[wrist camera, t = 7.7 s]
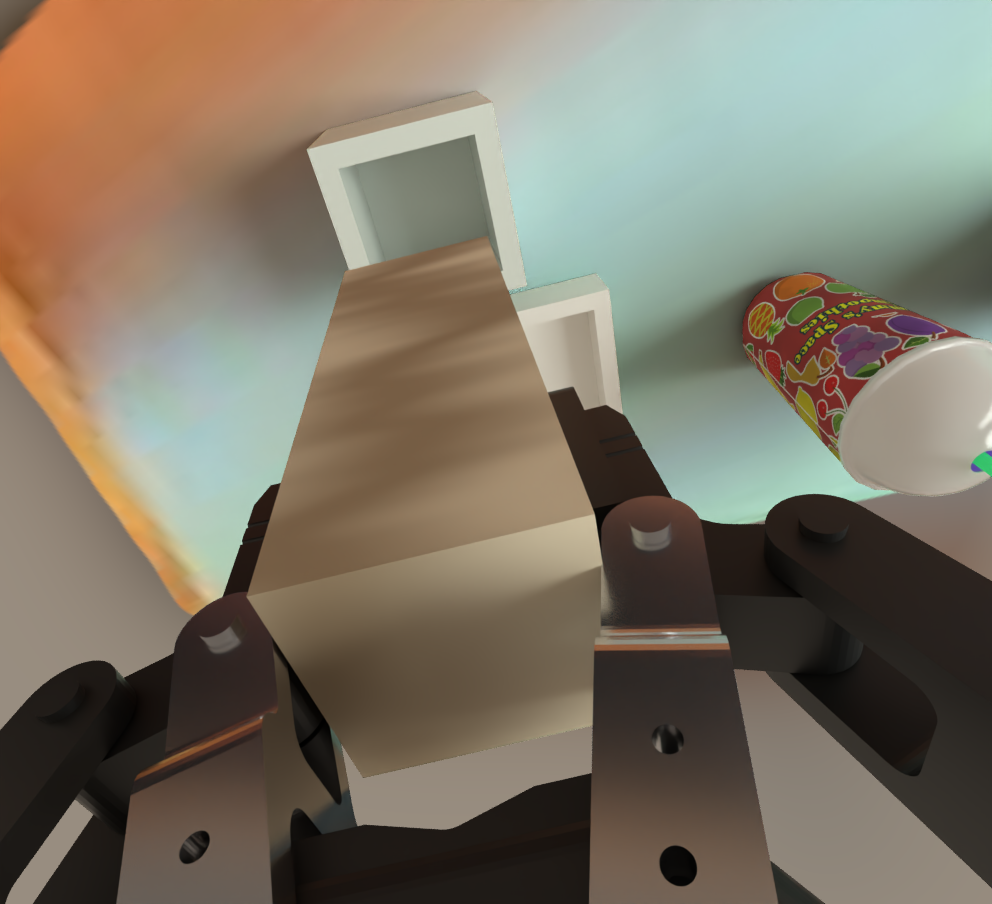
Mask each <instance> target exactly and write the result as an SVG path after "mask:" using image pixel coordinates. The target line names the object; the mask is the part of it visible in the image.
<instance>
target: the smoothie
mask: <svg viewBox="0 0 992 904" xmlns="http://www.w3.org/2000/svg"><path fill="white" fill-rule="evenodd" d="M742 334H743V347H744V350H745V352H746V355H747V358H748V359H749V360H750V361H751V362H752V363H753V364H754V365H755V366H756V368H757V369H758V370H759V371H760V372H761V373H762V374H763V375H764V377H765V378H766V379H767V380H768V381H769V382H770V383H771V384H772V386H773V387H774V388H775V389H776V390H777V391H778V392H779V393H780V395H781V396H782V397H783V398H784V399H785V400H786V401H787V402H788V404H789V405H790V406H791V407H792V408H793V409H794V410H795V411H796V413H797V414H798V415H799V416H800V417H801V418H802V419H803V420H804V422H805V423H806V424H807V425H808V426H809V427H810V428H811V429H812V431H813V432H814V433H815V434H816V435H817V436H818V437H819V438H820V440H821V441H822V442H823V443H824V444H825V445H826V446H827V447H828V449H829V450H830V451H831V452H832V453H833V454H834V455H835V456H836V458H837V459H838V460H839V461H840V462H841V464H842V465H843V467H844V468H845V470H846V471H847V472H848V473H849V474H850V475H851V476H852V477H853V478H854V480H855V481H856V482H858V483H860V484H863V485H865V486H867V487H870V488H872V489H875V490H890V491H893V492H897V493H901V494H904V495H916V496H941V495H948V494H952V493H958V492H962V491H965V490H967V489H970V488H972V487H974V486H976V485H978V484H981V483H983V482H985V481H986V480H988V479H989V478H991V477H992V343H990V342H989V341H987V340H984V339H980V338H973V337H971V336H969V335H967V334H965V333H962V332H960V331H958V330H955V329H953V328H950V327H948V326H946V325H943V324H941V323H938V322H936V321H934V320H931V319H929V318H926V317H924V316H922V315H919V314H917V313H914V312H912V311H910V310H907V309H905V308H903V307H900V306H898V305H895V304H893V303H891V302H888V301H886V300H883V299H881V298H879V297H876V296H874V295H871V294H869V293H867V292H864V291H862V290H860V289H857V288H855V287H852V286H850V285H848V284H845V283H843V282H840V281H838V280H836V279H833V278H831V277H828V276H826V275H824V274H822V273H810V272H804V273H801V274H797V275H791V276H788V277H784V278H780V279H778V280H776V281H774V282H772V283H771V284H769V285H767V286H766V287H765V288H764V289H762V290H761V291H760V292H759V293H758V294H757V295H756V296H755V297H754V299H753V300H752V302H751V303H750V305H749V306H748V308H747V310H746V313H745V316H744V319H743V329H742Z"/></svg>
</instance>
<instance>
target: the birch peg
mask: <svg viewBox="0 0 992 904" xmlns="http://www.w3.org/2000/svg"><path fill="white" fill-rule="evenodd" d="M601 565H603V563H602V557H601V551H600V544H599V538H598V532H597V525H596V519H595V513H594V511H593V508H592V506H591V503H590V501H589V498H588V495H587V493H586V490H585V488H584V485H583V482H582V480H581V477H580V475H579V472H578V470H577V467H576V464H575V462H574V459H573V457H572V454H571V451H570V449H569V446H568V444H567V441H566V439H565V436H564V433H563V431H562V428H561V426H560V423H559V420H558V418H557V415H556V413H555V410H554V408H553V405H552V402H551V400H550V397H549V395H548V392H547V389H546V387H545V384H544V382H543V379H542V377H541V374H540V371H539V369H538V366H537V364H536V361H535V358H534V356H533V353H532V351H531V348H530V346H529V343H528V340H527V338H526V335H525V333H524V330H523V327H522V325H521V322H520V320H519V317H518V315H517V312H516V309H515V307H514V304H513V302H512V299H511V296H510V294H509V291H508V289H507V286H506V284H505V281H504V278H503V276H502V273H501V271H500V268H499V265H498V263H497V260H496V258H495V255H494V253H493V250H492V247H491V245H490V242H489V240H488V237H487V236H484V237H480V238H476V239H472V240H468V241H464V242H460V243H456V244H452V245H448V246H444V247H440V248H436V249H432V250H428V251H424V252H420V253H416V254H412V255H408V256H404V257H400V258H396V259H392V260H388V261H384V262H380V263H376V264H372V265H368V266H364V267H360V268H356V269H352V270H348V271H345V273H344V276H343V280H342V283H341V286H340V289H339V293H338V296H337V299H336V303H335V306H334V309H333V313H332V316H331V319H330V323H329V326H328V329H327V332H326V336H325V339H324V342H323V346H322V349H321V352H320V356H319V359H318V362H317V365H316V369H315V372H314V375H313V379H312V382H311V385H310V389H309V392H308V395H307V399H306V402H305V405H304V408H303V412H302V415H301V418H300V422H299V425H298V428H297V432H296V435H295V438H294V441H293V445H292V448H291V451H290V455H289V458H288V461H287V465H286V468H285V471H284V475H283V478H282V481H281V484H280V488H279V491H278V494H277V498H276V501H275V504H274V508H273V511H272V514H271V517H270V521H269V524H268V527H267V531H266V534H265V537H264V541H263V544H262V547H261V550H260V554H259V557H258V560H257V564H256V567H255V570H254V574H253V577H252V580H251V584H250V587H249V590H248V593H247V598H248V600H249V601H250V603H251V604H252V606H253V608H254V609H255V611H256V612H257V614H258V615H259V617H260V618H261V620H262V622H263V623H264V625H265V626H266V628H267V629H268V631H269V632H270V634H271V636H272V637H273V639H274V640H275V642H276V643H277V645H278V646H279V648H280V649H281V651H282V653H283V654H284V656H285V657H286V659H287V660H288V662H289V663H290V665H291V667H292V668H293V670H294V671H295V673H296V674H297V676H298V677H299V679H300V681H301V682H302V684H303V685H304V687H305V688H306V690H307V691H308V693H309V694H310V696H311V698H312V699H313V701H314V702H315V704H316V705H317V707H318V708H319V710H320V712H321V713H322V715H323V716H324V718H325V719H326V721H327V722H328V724H329V725H330V727H331V729H332V730H333V732H334V733H335V735H336V736H337V738H338V739H339V741H340V743H341V744H342V746H343V747H344V749H345V750H346V752H347V753H348V755H349V757H350V758H351V760H352V761H353V763H354V764H355V766H356V767H357V769H358V770H359V772H360V774H361V775H362V777H363V778H366V777H370V776H374V775H379V774H383V773H388V772H392V771H396V770H401V769H405V768H409V767H414V766H418V765H423V764H427V763H431V762H435V761H440V760H444V759H449V758H453V757H457V756H462V755H466V754H471V753H475V752H479V751H483V750H488V749H492V748H497V747H501V746H505V745H510V744H514V743H519V742H523V741H527V740H532V739H536V738H540V737H544V736H549V735H553V734H558V733H562V732H567V731H571V730H575V729H580V728H583V727H589V726H593V676H594V645H595V638H596V636H600V630H601Z"/></svg>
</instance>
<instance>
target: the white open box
mask: <svg viewBox="0 0 992 904" xmlns="http://www.w3.org/2000/svg"><path fill="white" fill-rule="evenodd" d="M307 152H308V155H309V158H310V160H311V163H312V166H313V169H314V172H315V175H316V177H317V180H318V183H319V186H320V189H321V192H322V195H323V197H324V200H325V203H326V206H327V209H328V212H329V214H330V217H331V220H332V223H333V226H334V229H335V231H336V234H337V237H338V240H339V243H340V246H341V249H342V251H343V254H344V257H345V260H346V263H347V266H348V268H349V270H352V269H356V268H360V267H364V266H368V265H372V264H376V263H380V262H384V261H388V260H392V259H396V258H400V257H404V256H408V255H412V254H416V253H420V252H424V251H428V250H432V249H436V248H440V247H444V246H448V245H452V244H456V243H460V242H464V241H468V240H472V239H476V238H480V237H484V236H487V237H488V240H489V242H490V245H491V247H492V250H493V253H494V255H495V258H496V260H497V263H498V265H499V268H500V271H501V273H502V276H503V278H504V281H505V284H506V286H507V289H508V290H512V289H516V288H520V287H524V286H527V283H526V277H525V272H524V267H523V261H522V256H521V251H520V245H519V240H518V235H517V229H516V224H515V219H514V213H513V208H512V203H511V197H510V192H509V187H508V181H507V176H506V171H505V165H504V160H503V155H502V149H501V144H500V139H499V133H498V128H497V123H496V117H495V112H494V107H493V102H492V101H490V100H489V99H488V98H486V97H485V96H483V95H482V94H480V93H479V92H478V91H474V92H471V93H467V94H463V95H459V96H455V97H451V98H447V99H443V100H439V101H435V102H431V103H428V104H424V105H420V106H416V107H412V108H408V109H404V110H400V111H396V112H392V113H388V114H385V115H381V116H377V117H373V118H369V119H365V120H361V121H357V122H353V123H349V124H345V125H342V126H338V127H334V128H330V129H327V130H326V131H325V132H324V133H323V134H322V135H321V136H320V137H319V138H318V139H317V140H316V141H315V142H314V143H313V144H312V145H311V146H310V147H309V148H308V149H307Z"/></svg>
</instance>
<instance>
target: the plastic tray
mask: <svg viewBox="0 0 992 904" xmlns="http://www.w3.org/2000/svg"><path fill="white" fill-rule="evenodd" d="M510 296H511V299H512V302H513V304H514V307H515V309H516V312H517V315H518V317H519V320H520V322H521V325H522V327H523V330H524V333H525V335H526V338H527V340H528V343H529V346H530V348H531V351H532V353H533V356H534V358H535V361H536V364H537V366H538V369H539V371H540V374H541V377H542V379H543V382H544V384H545V387H546V389H547V392H551V391H555V390H559V389H563V388H568V387H572V386H573V387H574V389H575V391H576V393H577V395H578V397H579V399H580V401H581V404H582V406H583V408H584V410H587V409H591V408H595V407H599V406H603V405H608V406H609V407H611V408H613V409H614V410H616V411H618V412H619V413H621V414H623V411H622V402H621V393H620V384H619V375H618V366H617V357H616V348H615V339H614V330H613V321H612V312H611V302H610V293H609V289H608V287H607V286H606V285H605V284H604V282H603V281H602V280H601V279H600V277H599V276H598V275H597V274H596V273H595V274H591V275H587V276H583V277H579V278H575V279H571V280H567V281H563V282H559V283H555V284H551V285H547V286H543V287H539V288H534V289H530V290H526V291H522V292H518V293H514V294H510Z"/></svg>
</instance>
